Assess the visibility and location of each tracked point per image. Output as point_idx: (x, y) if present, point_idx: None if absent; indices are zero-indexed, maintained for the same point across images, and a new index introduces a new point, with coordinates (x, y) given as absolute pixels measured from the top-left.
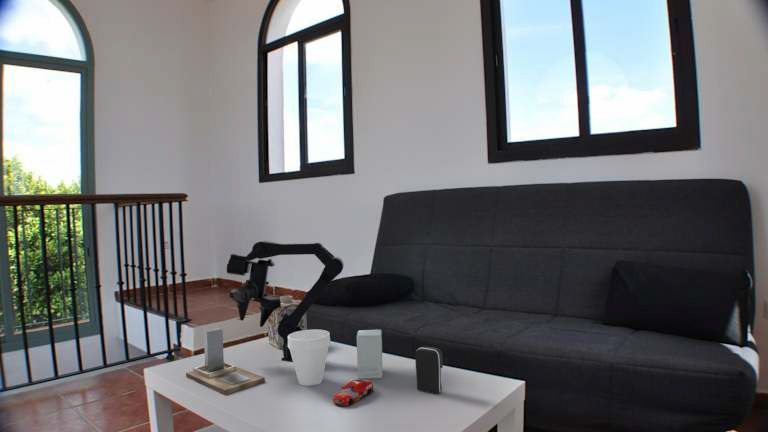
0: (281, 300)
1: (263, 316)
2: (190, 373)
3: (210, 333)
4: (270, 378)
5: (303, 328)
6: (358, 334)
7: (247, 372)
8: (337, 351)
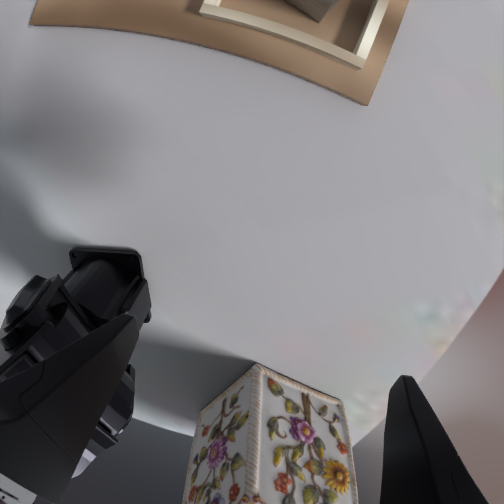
0: None
1: (28, 370)
2: None
3: None
4: (38, 58)
5: (196, 454)
6: None
7: (121, 18)
8: None
